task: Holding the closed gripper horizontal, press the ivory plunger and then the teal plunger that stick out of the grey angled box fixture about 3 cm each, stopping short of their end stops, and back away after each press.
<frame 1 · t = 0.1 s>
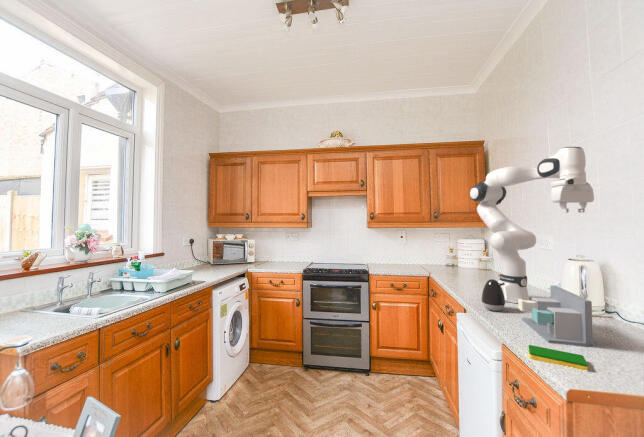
hand: (573, 212, 123), 48 cm above the countertop, tool pointing down, fingers open, 8 cm apart
grey angled box fixture: (560, 332, 108), on the countertop
ivory button: (531, 305, 117), point 8 cm above the countertop, slide at 0.0 cm
pump dispenser: (493, 309, 137), on the countertop
dish sponge: (556, 361, 88), on the countertop
teal button: (547, 316, 104), point 8 cm above the countertop, slide at 0.0 cm
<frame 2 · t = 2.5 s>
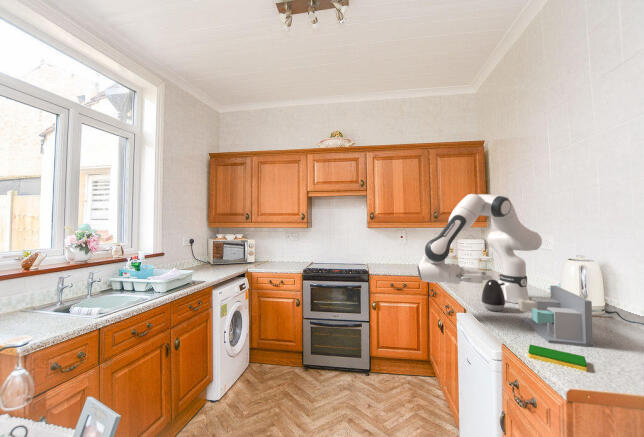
hand: (488, 275, 122), 20 cm above the countertop, tool horizontal, fingers open, 8 cm apart
nothing on the countertop moved.
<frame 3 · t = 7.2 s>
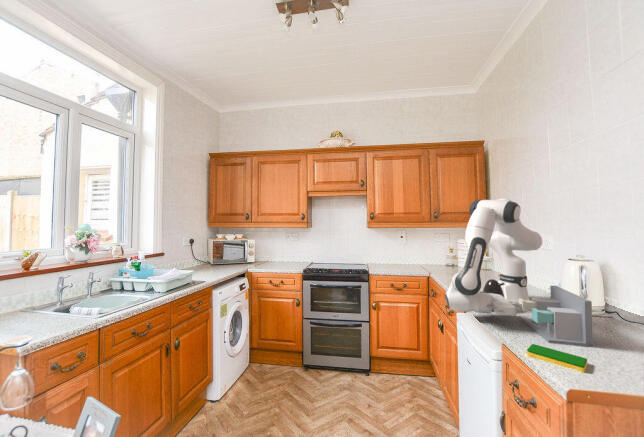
hand: (520, 305, 119), 8 cm above the countertop, tool horizontal, fingers closed, pressing on ivory button
ivory button: (532, 305, 117), point 8 cm above the countertop, slide at 0.2 cm, touching gripper
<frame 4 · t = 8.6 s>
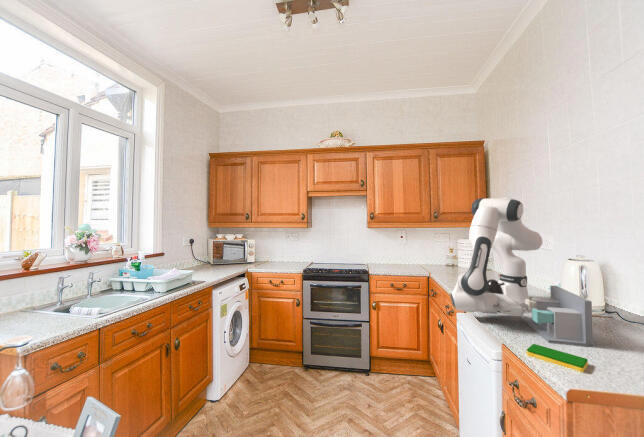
hand: (526, 305, 118), 8 cm above the countertop, tool horizontal, fingers closed
ivory button: (538, 306, 117), point 8 cm above the countertop, slide at 2.6 cm
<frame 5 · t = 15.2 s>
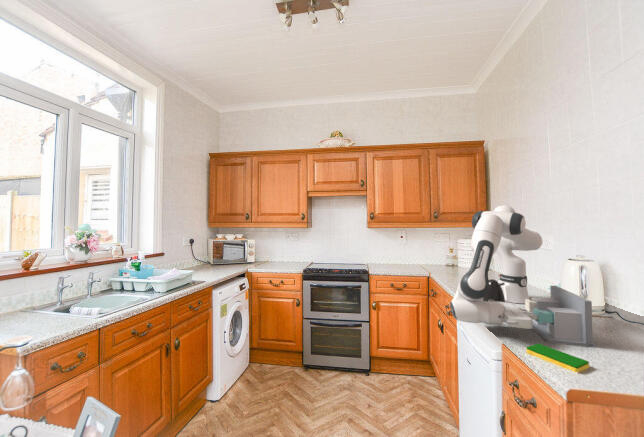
hand: (536, 316, 105), 8 cm above the countertop, tool horizontal, fingers closed, pressing on teal button
teal button: (549, 316, 104), point 8 cm above the countertop, slide at 0.5 cm, touching gripper
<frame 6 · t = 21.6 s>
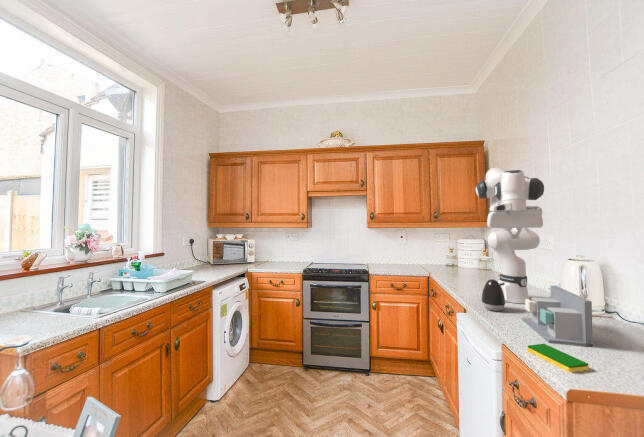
hand: (514, 238, 119), 37 cm above the countertop, tool pointing down, fingers closed
teal button: (555, 317, 103), point 8 cm above the countertop, slide at 2.6 cm
at the end: ivory button slide at 2.6 cm; teal button slide at 2.6 cm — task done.
